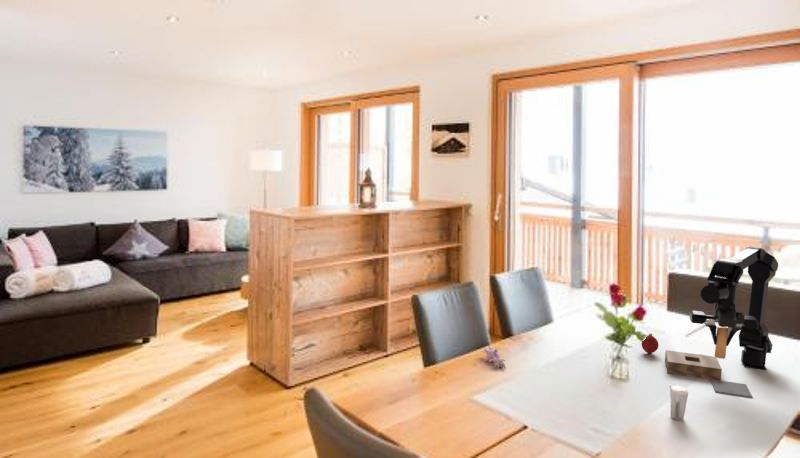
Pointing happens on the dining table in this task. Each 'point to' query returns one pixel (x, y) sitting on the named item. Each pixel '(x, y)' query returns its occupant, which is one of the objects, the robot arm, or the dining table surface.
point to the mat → (731, 388)
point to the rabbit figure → (494, 357)
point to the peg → (721, 342)
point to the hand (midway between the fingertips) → (720, 345)
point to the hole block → (692, 365)
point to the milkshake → (678, 402)
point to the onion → (650, 344)
